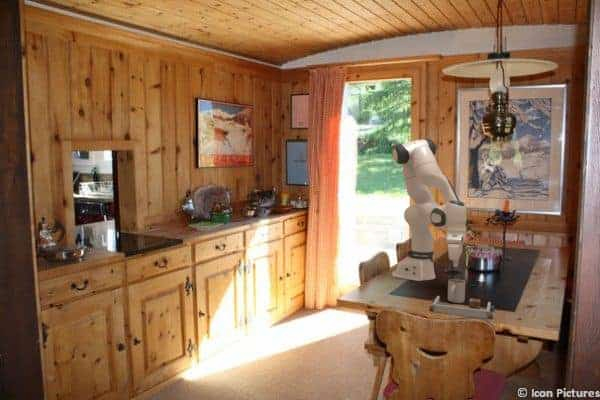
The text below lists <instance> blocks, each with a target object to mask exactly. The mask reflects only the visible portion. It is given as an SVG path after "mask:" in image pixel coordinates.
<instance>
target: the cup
mask: <svg viewBox="0 0 600 400" xmlns="http://www.w3.org/2000/svg"><path fill="white" fill-rule="evenodd" d="M447 282H448V284H447V301H448V302H450V303H453V304H454V303H456V304H462V303H464V302H465V298H466V297H465V295H466V280H463V279H458V278H451V279H448V280H447Z"/></svg>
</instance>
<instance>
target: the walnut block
mask: <svg viewBox="0 0 600 400" xmlns="http://www.w3.org/2000/svg"><path fill="white" fill-rule="evenodd" d="M468 308H470V309H478V310H481V299H477V298H471V297H470V299H469V303H468Z"/></svg>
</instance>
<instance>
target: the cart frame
mask: <svg viewBox="0 0 600 400" xmlns="http://www.w3.org/2000/svg"><path fill="white" fill-rule="evenodd" d="M440 299H441V298H440V295H437V296H436V298H433V300H432V305H429V308H428V309H429V311H432V312H434V313H442V314H449V315H457V316H462V317H463V316H464V317H471V318H479V319H485V320H486V319H487V320H490V319H494V314H493V313H494V311H495V305H491V304H492V302H490V301H488V302H487V306H486V310H484V309H480V310H478V309H470V308H469V307H462V306H461V307H460V306H453V305H445V304H440ZM491 311H492V312H493V313H492V312H491Z"/></svg>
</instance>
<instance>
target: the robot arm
mask: <svg viewBox="0 0 600 400" xmlns="http://www.w3.org/2000/svg"><path fill="white" fill-rule="evenodd" d="M436 153H437V147H436V143H435V141H433V139H431V138H423V139H415V140H414V139H413V140H411V141H407V142H403V143H399V144H396V145H395V146H394V147H393V149H392V158H393V160H394V162H395V163H396V164H398V165H402V175H403V176H402V177H403V180H404V184H405V189H406V193H407V195H408V196H409V197H410V198H411V199H412V201H413V202H414V204H411V205H409V206H408V207H407V208H406V209H405V210H404V213H403V218H404V221H405V222H406V223H407V224H408V226H409V229H410V233H411V235H410V236H411V248H408V250H407V256H405V258H403V259H402V260H400V261H399V262H398V263H397V265H396V269H395V270H393V271H392V272H391V276H392V277H393V278H399V279H405V280H410V281H417V282H421V281H430V280H434V279H436V274H435V268H434V261H435V250H434V241H435V239H434V234H433V233H432V232H431V230H430V229H431V228H430V224H431V225H433V226H434V227H436V228H445V241H446V243H447V250H448V251H447V253H448V259H449V260H450V261H452V264H453V265H452V266H453V267H454V268H457V267H458V266H459V259H460V257H461V255H462V253H463V245H464V242H466V241H467V226H466V223H467V221H468V220H467V219H468V213H467V208H466V204H465V202H463V201H460V199H459V197H458V195H457V193H456V191H455V189H454V187H453V185H452V184H451V182H450V180H449V178H448V177H447V176H446V175H445V174H444V173H443V172H442V171H441V169H440V167H439V164H438V162H437V159H436V157H435V155H436ZM429 187H431V188H433V189H435V190H437V191H439V192H440V194H441V195H442V197H443V199H444V201H445V203H446V204H444V205H441V206H440V204H438V203H437V202H436V200H435V199H434V197H433V195H432V192H431V190H430V188H429Z"/></svg>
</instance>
